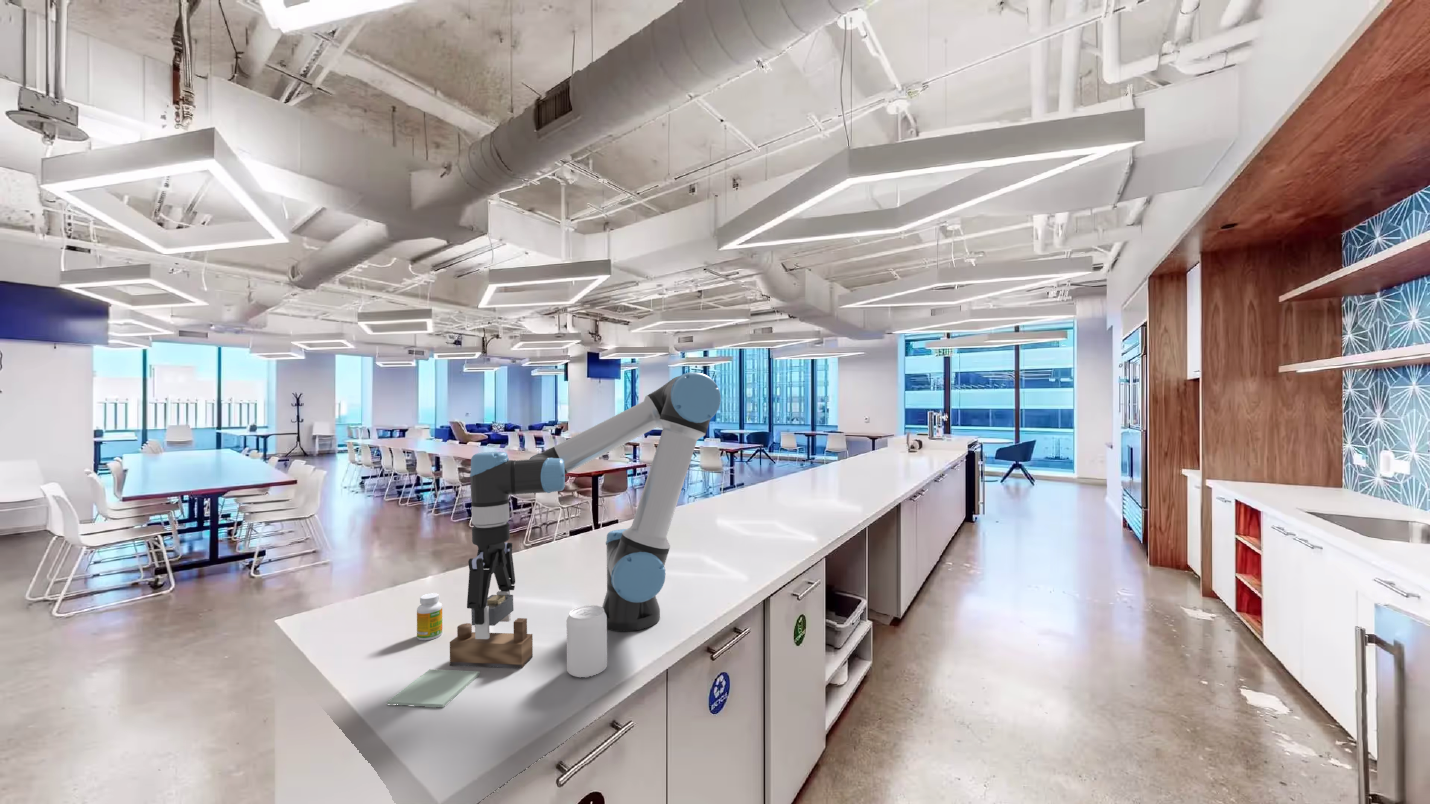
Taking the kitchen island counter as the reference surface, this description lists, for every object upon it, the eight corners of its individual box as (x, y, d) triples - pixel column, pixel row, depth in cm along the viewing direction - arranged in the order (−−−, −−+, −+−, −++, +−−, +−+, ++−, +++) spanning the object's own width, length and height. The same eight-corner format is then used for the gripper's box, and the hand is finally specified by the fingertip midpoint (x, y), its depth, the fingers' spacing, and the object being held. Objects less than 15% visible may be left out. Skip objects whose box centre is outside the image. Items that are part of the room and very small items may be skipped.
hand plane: (532, 657, 113) (532, 615, 113) (521, 668, 108) (521, 625, 108) (463, 654, 115) (463, 613, 115) (449, 665, 110) (449, 623, 110)
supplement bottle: (431, 642, 122) (431, 600, 122) (411, 640, 123) (411, 599, 123) (447, 632, 127) (447, 592, 127) (428, 630, 128) (428, 591, 128)
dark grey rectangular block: (513, 610, 116) (512, 591, 116) (494, 625, 108) (493, 604, 108) (492, 610, 116) (491, 591, 116) (471, 625, 108) (471, 604, 108)
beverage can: (586, 684, 102) (586, 622, 102) (558, 673, 106) (558, 614, 106) (615, 666, 109) (614, 608, 109) (587, 657, 113) (587, 601, 113)
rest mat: (479, 674, 106) (479, 671, 106) (443, 707, 94) (443, 704, 94) (429, 672, 107) (429, 669, 107) (386, 705, 95) (386, 701, 95)
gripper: (499, 514, 123) (502, 610, 123) (444, 535, 102) (447, 651, 102) (529, 513, 122) (532, 610, 122) (480, 535, 101) (483, 652, 101)
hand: (493, 629), depth 112 cm, fingers closed on dark grey rectangular block, 8 cm apart
